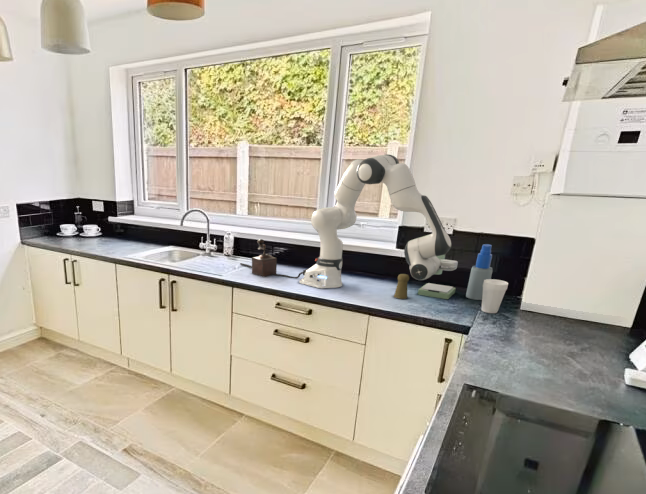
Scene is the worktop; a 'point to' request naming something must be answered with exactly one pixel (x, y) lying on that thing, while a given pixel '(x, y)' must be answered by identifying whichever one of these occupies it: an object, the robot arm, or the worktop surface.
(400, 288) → the pepper shaker
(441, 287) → the scale
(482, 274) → the spray bottle
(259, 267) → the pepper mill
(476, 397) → the worktop surface
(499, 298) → the foam cup
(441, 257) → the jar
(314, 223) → the robot arm
